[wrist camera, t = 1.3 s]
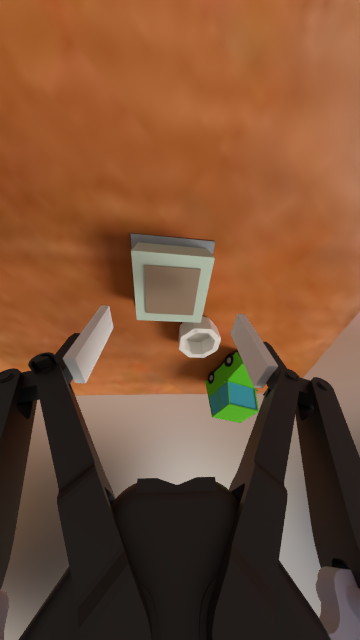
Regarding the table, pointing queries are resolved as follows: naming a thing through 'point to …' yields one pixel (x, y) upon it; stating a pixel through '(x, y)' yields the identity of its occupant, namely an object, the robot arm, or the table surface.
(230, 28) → the table surface
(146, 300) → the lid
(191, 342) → the bowl
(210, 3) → the table surface
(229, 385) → the toy car
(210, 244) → the mat
